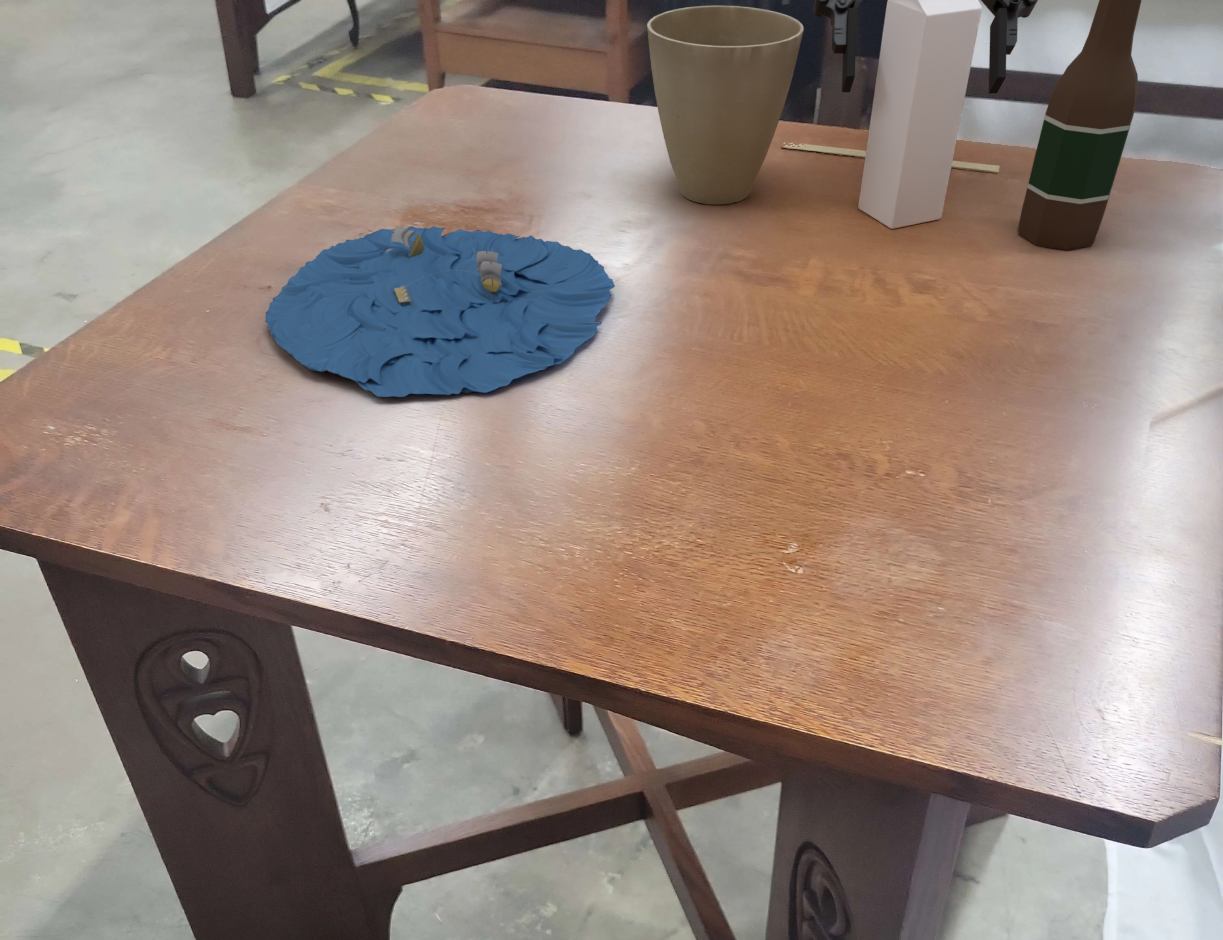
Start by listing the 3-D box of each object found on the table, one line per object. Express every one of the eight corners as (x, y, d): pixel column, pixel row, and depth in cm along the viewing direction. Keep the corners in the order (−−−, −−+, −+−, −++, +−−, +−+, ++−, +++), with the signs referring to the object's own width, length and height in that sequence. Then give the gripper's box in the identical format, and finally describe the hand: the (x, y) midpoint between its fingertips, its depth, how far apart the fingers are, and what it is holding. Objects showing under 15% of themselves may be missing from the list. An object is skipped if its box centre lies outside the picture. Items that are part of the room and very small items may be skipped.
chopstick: (999, 167, 117) (1000, 165, 117) (997, 173, 115) (998, 171, 115) (784, 143, 123) (785, 141, 123) (781, 148, 122) (781, 146, 122)
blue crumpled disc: (686, 347, 90) (690, 289, 86) (349, 450, 78) (338, 388, 75) (521, 217, 108) (519, 165, 104) (227, 285, 96) (213, 229, 93)
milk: (941, 220, 106) (993, -34, 92) (890, 230, 105) (934, -27, 90) (905, 198, 111) (949, -48, 96) (855, 208, 109) (892, -41, 94)
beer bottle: (998, 234, 104) (1066, -53, 88) (1043, 212, 107) (1115, -66, 91) (1071, 258, 99) (1156, -39, 83) (1114, 235, 103) (1204, -54, 87)
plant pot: (684, 230, 105) (690, 53, 95) (622, 179, 115) (621, 15, 105) (814, 204, 110) (834, 33, 99) (744, 158, 120) (755, -2, 109)
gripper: (1049, -107, 103) (1045, 107, 102) (789, -106, 104) (782, 105, 103) (1079, -168, 96) (1075, 63, 94) (798, -166, 97) (791, 61, 96)
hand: (922, 85), depth 99 cm, fingers open, 13 cm apart
